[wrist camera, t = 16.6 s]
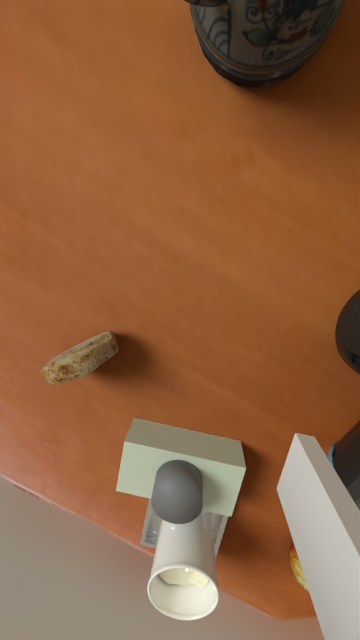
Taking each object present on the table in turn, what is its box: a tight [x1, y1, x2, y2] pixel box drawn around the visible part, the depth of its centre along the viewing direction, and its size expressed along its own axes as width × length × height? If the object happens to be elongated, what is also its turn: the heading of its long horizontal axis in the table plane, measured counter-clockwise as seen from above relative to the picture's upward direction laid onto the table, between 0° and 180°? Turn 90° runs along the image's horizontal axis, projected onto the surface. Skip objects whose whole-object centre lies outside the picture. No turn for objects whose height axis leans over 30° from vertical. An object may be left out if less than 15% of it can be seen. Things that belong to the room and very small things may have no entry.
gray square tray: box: [140, 498, 228, 559], centre depth 49 cm, size 14×14×2 cm
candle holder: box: [147, 510, 219, 620], centre depth 44 cm, size 10×10×12 cm
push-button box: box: [116, 418, 246, 524], centre depth 42 cm, size 18×9×10 cm, turn 79°
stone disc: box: [40, 331, 119, 385], centre depth 39 cm, size 10×4×10 cm, turn 114°
